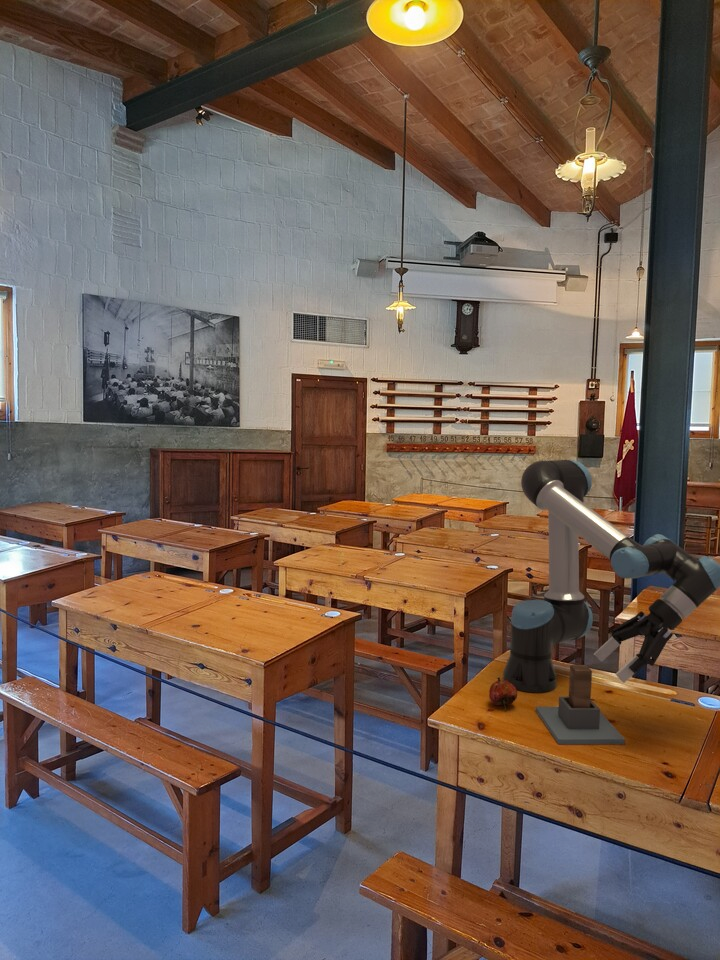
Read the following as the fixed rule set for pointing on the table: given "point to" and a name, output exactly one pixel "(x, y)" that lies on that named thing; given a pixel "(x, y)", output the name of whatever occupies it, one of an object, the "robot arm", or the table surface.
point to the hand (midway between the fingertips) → (607, 668)
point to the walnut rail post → (580, 686)
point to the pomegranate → (502, 693)
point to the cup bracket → (578, 724)
